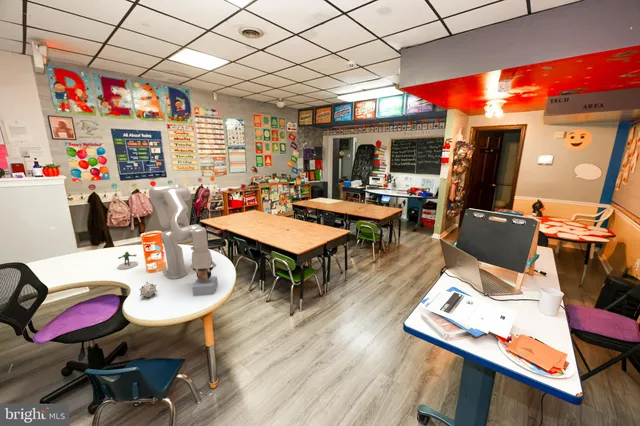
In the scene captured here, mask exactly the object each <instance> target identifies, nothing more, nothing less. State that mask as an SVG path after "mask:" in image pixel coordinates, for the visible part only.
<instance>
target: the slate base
mask: <svg viewBox="0 0 640 426" xmlns="http://www.w3.org/2000/svg"><path fill="white" fill-rule="evenodd" d="M196 278H197V279H196V280H195V282H194V283H193V285H192V287H191V289H192V297H197V296H198V297H200V296H211V295H214V294H215V292H216V290H217V288H218V285H219V284H218V275H217V276H216V275H215V276H210V278H209V279H208V280H206V281H198V277H196Z"/></svg>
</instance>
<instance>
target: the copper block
mask: <svg viewBox="0 0 640 426" xmlns="http://www.w3.org/2000/svg"><path fill="white" fill-rule="evenodd" d="M207 272H208V270H207V268H206V269H199V270H198V271H197V273H198V277H197V278H198V281H206V280H208V274H207Z"/></svg>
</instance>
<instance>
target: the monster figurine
mask: <svg viewBox="0 0 640 426" xmlns="http://www.w3.org/2000/svg"><path fill="white" fill-rule="evenodd" d="M130 257H137V254H130V253H129V251H126V252H125V253H124V254H123V255H122V256H119V257H117V259H118V260H120V259H123V258H124V262H123V263H121V264H119V265H118V266H117V267H116V268H117V270H119V271H125V270H129V269H133V268H136V267H137V266H138V265H139V262H138V261H134V260H133V261H130Z"/></svg>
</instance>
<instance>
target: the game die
mask: <svg viewBox="0 0 640 426" xmlns="http://www.w3.org/2000/svg"><path fill="white" fill-rule="evenodd" d="M156 286H157V284H153V283H149V282H148V281H146V283H145V284H144V285H142V286H141V288H139V289H138V290H140V295H139V297H141V296H142V297H146V298H148V299H150V298H151V297H152V296H153V294H154V295H155V293H156V292H157V289H156V288H157V287H156Z"/></svg>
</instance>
